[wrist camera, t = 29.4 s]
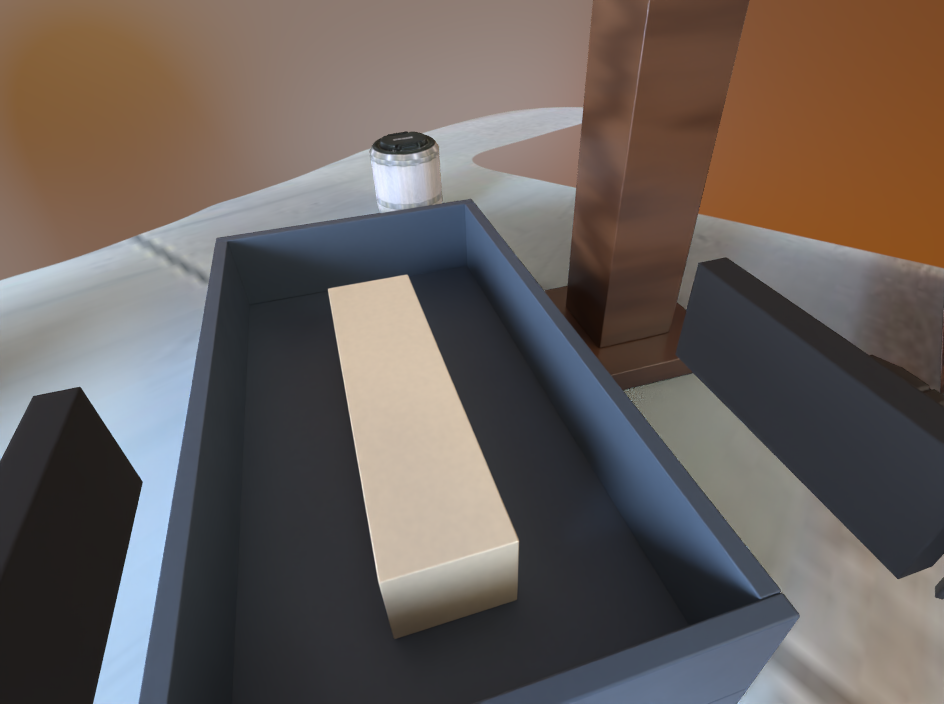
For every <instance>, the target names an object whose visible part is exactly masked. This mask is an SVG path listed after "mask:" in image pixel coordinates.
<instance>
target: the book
mask: <svg viewBox="0 0 944 704" xmlns="http://www.w3.org/2000/svg"><path fill="white" fill-rule="evenodd" d="M941 393H942V394H944V310H943V331H942V352H941Z"/></svg>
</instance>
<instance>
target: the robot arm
mask: <svg viewBox="0 0 944 704" xmlns="http://www.w3.org/2000/svg"><path fill="white" fill-rule="evenodd" d="M675 355H676V356H677V357H678V358H679V359H680V360H681V361H682V362H683V363H684V364H685V365H686V366H687V367H688V368H689V369H690V370H691V371H692V372H693V373H694V374H695V375H696V376H697V377H698V378H699V379H700V380H701V381H702V382H703V383H704V384H705V385H706V386H707V387H708V388H709V389H710V390H711V391H712V392H713V393H714V394H715V395H716V396H717V397H718V398H719V399H720V400H721V401H722V402H723V403H724V404H725V405H726V406H727V407H728V408H729V409H730V410H731V411H732V412H733V413H734V414H735V415H736V416H737V417H738V418H739V419H740V420H741V421H742V422H743V423H744V424H745V425H746V426H747V427H748V428H749V430H750V431H751V432H752V433H753V434H754V435H755V436H756V437H757V438H758V439H759V440H760V441H761V442H762V443H763V444H764V445H765V446H766V447H767V448H768V449H769V450H770V451H771V452H772V453H773V454H774V455H775V456H776V457H777V458H778V459H779V460H780V461H781V462H782V463H783V464H784V465H785V466H786V467H787V468H788V469H789V470H790V471H791V472H792V473H793V474H794V475H795V476H796V477H797V478H798V479H799V480H800V481H801V482H802V483H803V484H804V485H805V486H806V487H807V488H808V489H809V490H810V491H811V492H812V493H813V494H814V495H815V496H816V497H817V498H818V499H819V500H820V501H821V502H822V503H823V504H824V505H825V506H826V507H827V508H828V509H829V510H830V511H831V512H832V513H833V514H834V515H835V516H836V517H837V518H838V519H839V520H840V521H841V522H842V523H843V524H844V525H845V526H846V527H847V528H848V529H849V530H850V531H851V532H852V533H853V534H854V535H855V536H856V537H857V538H858V539H859V540H860V541H861V542H862V543H863V544H864V545H865V546H866V547H867V548H868V549H869V550H870V551H871V552H872V553H873V554H874V555H875V557H876V558H877V559H878V560H879V561H880V562H881V563H882V564H883V565H884V566H885V567H886V568H887V569H888V570H889V571H890V572H891V573H892V574H893V575H894V576H895V577H896V578H897V579H900V578H903V577H905V576H908V575H911V574H913V573H916V572H918V571H921V570H924V569H926V568H929V567H932V566H933V565H934V564H935V563H936V562H937V561H938V559H939V558H940V557H941V556H942V555H943V554H944V395H942V394H941V393H939V392H938V391H936V390H935V389H933V390H931V389H930V388H929V385H928V384H926V383H925V382H923V381H922V380H920V379H919V378H917V377H916V376H914V375H913V374H911V373H910V372H908V371H907V370H905V369H904V368H902V367H899V366H897V365H895V364H892V363H890V362H888V361H885V360H883V359H881V358H878V357H876V356H874V355H868V354H866V353H865V352H863V351H862V350H861V349H859V348H858V347H856V346H855V345H853V344H852V343H850V342H849V341H847V340H846V339H845V338H843V337H842V336H840V335H839V334H837V333H836V332H834V331H833V330H831V329H830V328H829V327H827V326H826V325H824V324H823V323H821V322H820V321H818V320H817V319H815V318H814V317H812V316H811V315H810V314H808V313H807V312H805V311H804V310H802V309H801V308H799V307H798V306H796V305H795V304H794V303H792V302H791V301H789V300H788V299H786V298H785V297H783V296H782V295H780V294H779V293H777V292H776V291H775V290H773V289H772V288H770V287H769V286H767V285H766V284H764V283H763V282H761V281H760V280H759V279H757V278H756V277H754V276H753V275H751V274H750V273H748V272H747V271H745V270H744V269H743V268H741V267H740V266H738V265H737V264H735V263H734V262H732V261H731V260H729V259H728V258H721V259H716V260H711V261H706V262H701V263H698V267H697V271H696V275H695V279H694V283H693V287H692V291H691V295H690V298H689V302H688V306H687V310H686V314H685V318H684V322H683V326H682V330H681V334H680V338H679V341H678V345H677V349H676V353H675ZM142 483H143V482H142V480H141V479H140V477H139V476H138V474H137V473H136V471H135V470H134V468H133V466H132V465H131V463H130V462H129V460H128V459H127V457H126V456H125V454H124V453H123V451H122V450H121V448H120V447H119V445H118V444H117V442H116V441H115V439H114V437H113V436H112V434H111V433H110V431H109V430H108V428H107V427H106V425H105V424H104V422H103V421H102V419H101V418H100V416H99V415H98V413H97V412H96V410H95V409H94V407H93V405H92V404H91V402H90V401H89V399H88V398H87V396H86V395H85V393H84V392H83V390H82V389H81V387H77V388H72V389H67V390H62V391H57V392H52V393H47V394H42V395H37V396H33V398H32V400H31V402H30V404H29V406H28V407H27V409H26V411H25V413H24V415H23V417H22V419H21V421H20V423H19V425H18V427H17V429H16V431H15V433H14V435H13V437H12V439H11V441H10V443H9V445H8V447H7V449H6V451H5V453H4V455H3V457H2V459H1V461H0V704H93V701H94V697H95V692H96V688H97V683H98V679H99V674H100V670H101V665H102V661H103V657H104V652H105V648H106V643H107V639H108V634H109V630H110V625H111V621H112V616H113V612H114V608H115V603H116V599H117V594H118V590H119V585H120V581H121V576H122V572H123V567H124V563H125V559H126V554H127V550H128V545H129V541H130V536H131V532H132V527H133V523H134V518H135V514H136V510H137V505H138V501H139V496H140V492H141V487H142ZM935 597H936V598H939V599H944V577H943V578H942V579H941V581H940V582H939V583H938V584H937V585H936V586H935Z"/></svg>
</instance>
